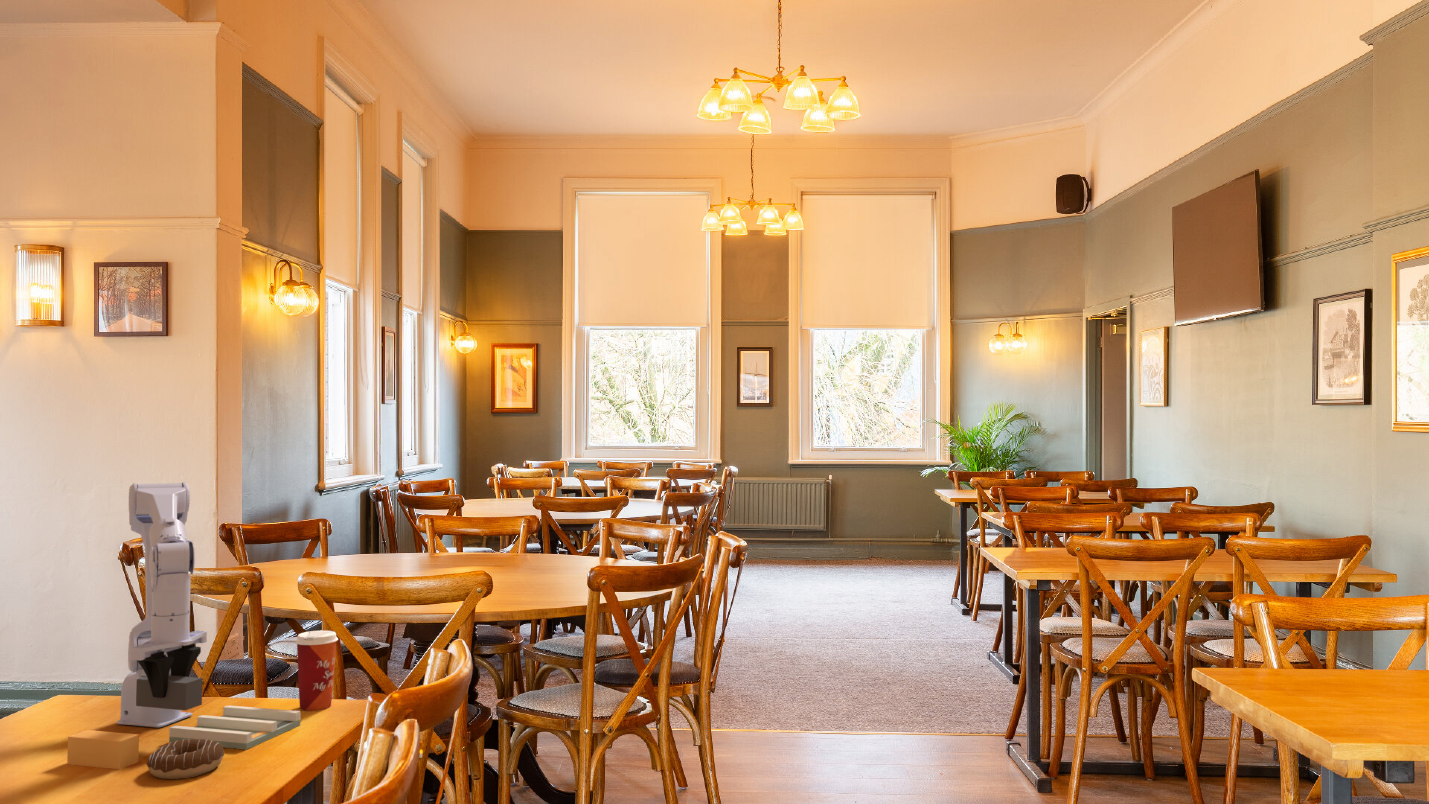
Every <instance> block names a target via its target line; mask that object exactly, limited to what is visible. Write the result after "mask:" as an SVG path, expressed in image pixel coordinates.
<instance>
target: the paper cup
mask: <svg viewBox="0 0 1429 804" xmlns="http://www.w3.org/2000/svg"><path fill="white" fill-rule="evenodd" d="M337 641H339V638H338V637H337V633H336V631H333V630H326V629H325V630H311V631H305V632H301V633H298V635H297V638H296V640H295V644H296V649H297V650H296V651H297V675H298V678H297V679H298V680H297V681H298V697H299V709H300V710H301V711H305V712H314V711H323V710H326V709H329V708H331V706H332V702H333V701H332V699H333V690H334V689H333V687H334V678H335V677H334V676H335V662H336V652H337V650H336V649H337Z"/></svg>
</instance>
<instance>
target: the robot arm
mask: <svg viewBox="0 0 1429 804" xmlns="http://www.w3.org/2000/svg"><path fill="white" fill-rule="evenodd" d="M190 493H191V492H190V485H189V484H188V483H187V481H185V482H184V481H182V482H177V483H175V482H173V483H170V482H169V483H132V484H131V485H130V486H129V489H128V520H129V522H128V523H129V526H130V531H132V532H134V533H136V534H138V535H140V536H141V539H142V544H143V547H144V570H145V571H144V572H145V573H144V576H145V578H144V579H145V584H144V585H145V618H144V619H143V620H142V621H140V622H139V623H137V624H136V625H134V626H133V627H132V628H131V631H130V633H129V636H128V638H129V639H128V650H127V653H128V654H127V657H128V658H127V661H128V662H127V664H128V670H129V671H130V673H128V674H127V675H126V676H125V677H124V680H123V681H122V684H121V691H120V719H119V720H117V721H116V724H117V725H127V726H136V727H137V726H139V727H147V728H149V727H150V728H163V727H165V726H167V725H168V726H169V725H170V724H173V723H177V722H179V721H181V720H184V719H186V718H189V717H191V716H193V712H186V711H182V710H174V709H163V708H153V707H142V706H136V686H137V679H139V678H142V677H146V676H147V678H148V681H149V684H150V688H151V692H152V695H153V697H156V698H164V697H166V693H167V688H168V677H169V675H171V676H183V677H190V674H191V671H192V669H193V666H194V665H195V663H196V661H197V659H198V657H199V656H200V654H201V652H202V649H201V646H196V645H197V644H204V643H207V642H208V640H207V635H208V631H206V630H195V631H190V620H191V619H190V618H191V617H190V616H191V582H192V581H191V579H192V578H191V577H192V576H191V575H193V574H194V571H195V567H196V565H195V564H196V551H195V546H194V542H193V540H191V539H188V535H187V529H186V526H185V525H186V523H187V519H188V513H189V509H190V501H191V499H190V497H191V494H190ZM189 573H190V574H189Z"/></svg>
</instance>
